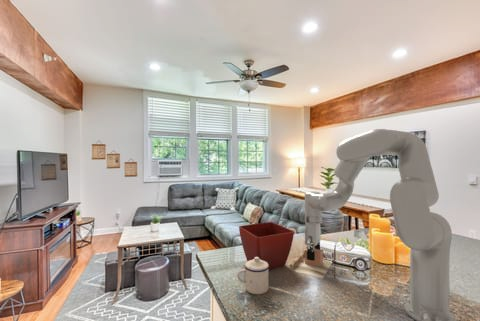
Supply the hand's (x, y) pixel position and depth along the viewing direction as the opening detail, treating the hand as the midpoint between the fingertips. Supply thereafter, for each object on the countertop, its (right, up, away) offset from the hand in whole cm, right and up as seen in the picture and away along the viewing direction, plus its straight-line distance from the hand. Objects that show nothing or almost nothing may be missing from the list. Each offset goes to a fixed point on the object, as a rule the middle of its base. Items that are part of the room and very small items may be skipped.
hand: (313, 256), depth 111 cm
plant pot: (-22, -5, +1) cm, 22 cm away
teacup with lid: (-29, -5, -20) cm, 35 cm away
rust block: (0, -3, 0) cm, 3 cm away
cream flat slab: (-1, -4, -1) cm, 4 cm away
